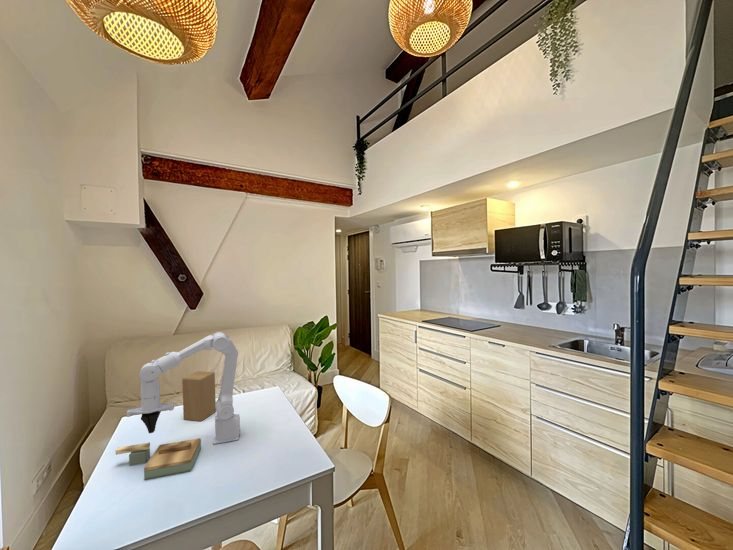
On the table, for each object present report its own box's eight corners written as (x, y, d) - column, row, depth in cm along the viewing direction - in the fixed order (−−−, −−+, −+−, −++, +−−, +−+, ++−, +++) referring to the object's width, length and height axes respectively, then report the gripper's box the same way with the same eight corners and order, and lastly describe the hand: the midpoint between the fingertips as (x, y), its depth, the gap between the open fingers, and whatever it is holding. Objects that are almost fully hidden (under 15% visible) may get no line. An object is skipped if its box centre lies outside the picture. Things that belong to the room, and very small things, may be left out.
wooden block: (199, 410, 150) (197, 370, 149) (216, 411, 148) (215, 371, 148) (183, 420, 140) (181, 378, 140) (201, 421, 138) (200, 379, 138)
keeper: (150, 456, 113) (149, 446, 113) (145, 462, 109) (145, 452, 109) (134, 459, 111) (134, 448, 111) (129, 465, 107) (129, 455, 107)
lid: (200, 440, 117) (200, 434, 117) (190, 462, 104) (190, 455, 104) (159, 447, 113) (159, 440, 113) (144, 471, 100) (143, 463, 100)
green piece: (201, 448, 117) (200, 440, 117) (191, 471, 104) (190, 462, 104) (160, 455, 113) (159, 447, 113) (144, 480, 100) (144, 471, 100)
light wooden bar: (150, 446, 112) (150, 442, 112) (147, 449, 110) (147, 445, 110) (118, 451, 109) (118, 447, 109) (115, 454, 107) (115, 450, 107)
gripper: (176, 388, 117) (177, 422, 117) (132, 394, 112) (133, 429, 112) (170, 396, 110) (171, 432, 110) (123, 402, 105) (124, 440, 106)
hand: (151, 431), depth 111 cm, fingers closed
